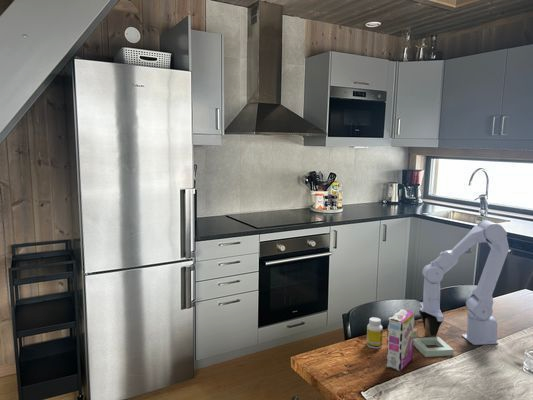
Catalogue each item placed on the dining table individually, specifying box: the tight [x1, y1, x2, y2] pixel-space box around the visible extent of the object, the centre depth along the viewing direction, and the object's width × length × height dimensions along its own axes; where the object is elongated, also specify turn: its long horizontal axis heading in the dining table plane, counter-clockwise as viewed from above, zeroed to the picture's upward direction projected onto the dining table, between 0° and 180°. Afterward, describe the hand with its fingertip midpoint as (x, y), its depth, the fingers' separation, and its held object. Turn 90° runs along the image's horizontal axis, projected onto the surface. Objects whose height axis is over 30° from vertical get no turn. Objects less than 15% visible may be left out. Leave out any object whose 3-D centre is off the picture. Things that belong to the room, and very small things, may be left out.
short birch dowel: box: [413, 328, 419, 338], centre depth 149 cm, size 4×4×4 cm
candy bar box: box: [386, 308, 415, 372], centre depth 132 cm, size 11×5×16 cm, turn 141°
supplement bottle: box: [366, 316, 383, 350], centre depth 145 cm, size 5×5×10 cm
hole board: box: [413, 336, 455, 358], centre depth 142 cm, size 10×10×2 cm
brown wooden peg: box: [424, 318, 437, 338], centre depth 151 cm, size 4×4×7 cm
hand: (430, 332), depth 151 cm, fingers closed on brown wooden peg, 4 cm apart
